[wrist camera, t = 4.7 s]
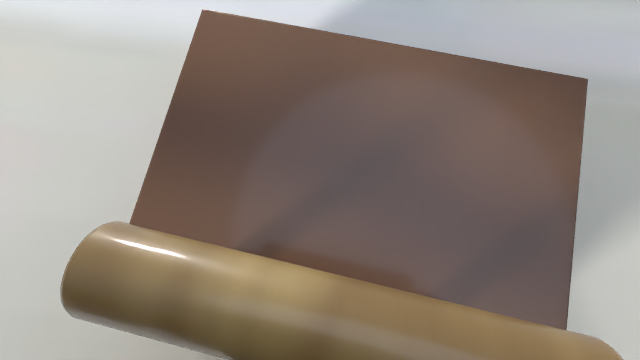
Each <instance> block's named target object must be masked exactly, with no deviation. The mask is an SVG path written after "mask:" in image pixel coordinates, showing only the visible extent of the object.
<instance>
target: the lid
mask: <svg viewBox="0 0 640 360" xmlns="http://www.w3.org/2000/svg"><path fill="white" fill-rule="evenodd" d="M587 83H588V79H585V78H579V77H574V76H568V75H563V74H557V73H552V72H546V71H541V70H535V69H530V68H524V67H519V66H513V65H508V64H502V63H497V62H491V61H486V60H480V59H475V58H469V57H464V56H458V55H453V54H447V53H442V52H437V51H431V50H426V49H420V48H415V47H409V46H404V45H398V44H393V43H387V42H382V41H376V40H371V39H365V38H360V37H354V36H349V35H343V34H338V33H332V32H327V31H321V30H316V29H310V28H305V27H299V26H294V25H288V24H283V23H277V22H272V21H266V20H261V19H255V18H250V17H244V16H239V15H233V14H228V13H222V12H217V11H211V10H206V9H203V10H202V12H201V15H200V18H199V21H198V24H197V27H196V30H195V33H194V36H193V38H192V41H191V44H190V47H189V50H188V53H187V56H186V59H185V62H184V65H183V68H182V71H181V74H180V77H179V80H178V82H177V85H176V88H175V91H174V94H173V97H172V100H171V103H170V106H169V109H168V112H167V115H166V118H165V121H164V124H163V127H162V129H161V132H160V135H159V138H158V141H157V144H156V147H155V150H154V153H153V156H152V159H151V162H150V165H149V168H148V171H147V174H146V176H145V179H144V182H143V185H142V188H141V191H140V194H139V197H138V200H137V203H136V206H135V209H134V212H133V215H132V218H131V220H130V223H129V224H127V223H123V222H111V223H107V224H104V225H102V226H100V227H98V228H96V229H95V230H93V231H92V232H91V233H90V234H89V235H88V236H87V237H86V238H84V240H83V241H82V242H81V243H80V244H79V246H78V247H77V248H76V250H75V251H74V253H73V255H72V256H71V258H70V260H69V262H68V264H67V266H66V269H65V271H64V275H63V278H62V283H61V302H62V305H63V307H64V309H65V310H66V311H67V312H68V313H69V314H70V315H71V316H72V317H74V318H77V319H81V320H85V321H88V322H92V323H96V324H100V325H103V326H107V327H111V328H114V329H118V330H122V331H125V332H129V333H133V334H136V335H140V336H144V337H147V338H151V339H155V340H158V341H162V342H166V343H169V344H173V345H177V346H180V347H184V348H188V349H191V350H195V351H199V352H202V353H206V354H210V355H213V356H217V357H221V358H224V359H228V360H623V359H622V358H621V356H620V355H619V354H618V353H617V352H616V351H615V350H614V349H613V348H612V347H610V346H609V345H608V344H606V343H605V342H603V341H602V340H600V339H598V338H595V337H592V336H588V335H584V334H579V333H575V332H571V331H567V330H566V328H567V317H568V305H569V293H570V282H571V270H572V258H573V247H574V235H575V223H576V212H577V200H578V188H579V177H580V165H581V153H582V142H583V130H584V118H585V107H586V95H587Z"/></svg>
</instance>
